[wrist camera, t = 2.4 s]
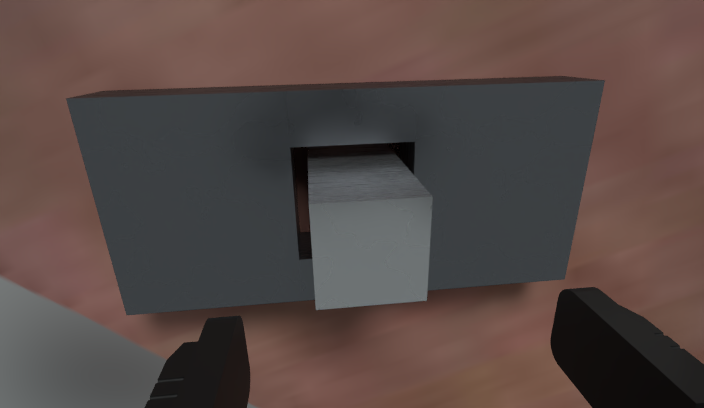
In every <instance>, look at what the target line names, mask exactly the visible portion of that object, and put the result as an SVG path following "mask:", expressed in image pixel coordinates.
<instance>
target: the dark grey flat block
mask: <svg viewBox="0 0 704 408" xmlns="http://www.w3.org/2000/svg"><path fill="white" fill-rule="evenodd" d="M604 82H605V80H595V79H586V78H576V77H567V76H552V77H521V78H490V79H459V80H428V81H397V82H365V83H334V84H303V85H272V86H241V87H210V88H179V89H148V90H117V91H101V92H96V93H91V94H86V95H81V96H76V97H71V98H67V99H66V100H67V103H68V107H69V110H70V114H71V118H72V121H73V125H74V128H75V132H76V135H77V139H78V143H79V146H80V150H81V153H82V157H83V161H84V164H85V168H86V171H87V175H88V179H89V182H90V186H91V189H92V193H93V196H94V200H95V204H96V207H97V211H98V214H99V218H100V222H101V225H102V229H103V232H104V236H105V239H106V243H107V247H108V250H109V254H110V257H111V261H112V265H113V268H114V272H115V275H116V279H117V282H118V286H119V290H120V293H121V297H122V300H123V304H124V308H125V311H126V315H135V314H147V313H160V312H172V311H184V310H196V309H208V308H220V307H233V306H245V305H257V304H269V303H281V302H293V301H306V300H315V290H314V275H313V260H312V245H311V232H302V233H300V225H299V212H298V199H297V187H296V174H295V161H294V148H293V147H312V146H334V145H355V144H376V143H398V142H400V155H399V158H400V160H401V161H402V162H403V163H404V164H405V165H406V167H407V168H408V169H409V170H410V171H411V172H412V173H413V175H414V176H415V177H416V178H417V179H418V180H419V182H420V183H421V184H422V185H423V186H424V187H425V188H426V190H427V191H428V192H429V193H430V194H431V195H432V197H433V200H432V218H431V236H430V254H429V272H428V290H439V289H451V288H464V287H476V286H488V285H500V284H512V283H524V282H537V281H549V280H561V279H565V275H566V270H567V265H568V260H569V255H570V250H571V245H572V240H573V235H574V230H575V225H576V220H577V215H578V210H579V205H580V201H581V196H582V191H583V186H584V181H585V176H586V171H587V166H588V161H589V156H590V151H591V146H592V141H593V136H594V131H595V126H596V121H597V117H598V112H599V107H600V102H601V97H602V92H603V87H604Z"/></svg>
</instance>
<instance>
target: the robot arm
mask: <svg viewBox="0 0 704 408" xmlns="http://www.w3.org/2000/svg"><path fill="white" fill-rule="evenodd" d="M551 349H552V353H553V356H554V358H555V360H556V362H557V364H558V365H559V366H560V368H561V369H562V370H563V371H564V373H565V374H566V375H567V376H568V378H569V379H570V380H571V381H572V383H573V384H574V385H575V386H576V388H577V389H578V390H579V391H580V393H581V394H582V395H583V396H584V398H585V399H586V400H587V401H588V403H589V404H590V405H591V406H592V408H704V364H702V363H701V362H700V361H699V360H697V359H696V358H695V357H694V356H692V355H691V354H690V353H688V352H687V351H686V350H685V349H680V347H679V345H678V344H677V343H676V342H674V341H673V340H672V339H671V338H669V337H668V336H664V335H663V332H662V331H661V330H659V329H658V328H657V327H655V326H654V325H653V324H652V323H650V322H649V321H648V320H647V319H645V318H644V317H642V316H640V315H638V314H636V313H634V312H632V311H630V310H628V309H626V308H624V307H622V306H620V305H618V304H617V303H616V302H614V301H613V300H612V299H611V298H609V297H608V296H607V295H606V294H604V293H603V292H602V291H601V290H599V289H598V288H595V287H588V288H576V289H565V290H563V291H561V293H560V294H559V297H558V302H557V307H556V312H555V318H554V323H553V328H552V334H551ZM249 391H250V366H249V359H248V353H247V346H246V339H245V333H244V326H243V321H242V318H241V316H231V317H219V318H208V319H207V321H206V323H205V325H204V328H203V330H202V333H201V336H200V338H199V341H198V342H187V343H183V344H182V345H181V346H180V347H179V348H178V349H177V350H176V351H175V352H174V353H173V354H172V355H171V356H170V357H169V358H168V359H167V361H166V363H165V365H164V367H163V369H162V372H161V374H160V376H159V378H158V383H156V384H155V387H154V389H153V391H152V393H151V395H150V400H149V401H148V402H147V404H146V406H145V408H247V404H248V398H249Z"/></svg>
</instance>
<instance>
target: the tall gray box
mask: <svg viewBox="0 0 704 408" xmlns="http://www.w3.org/2000/svg"><path fill="white" fill-rule="evenodd" d="M308 192H309V215H310V230H311V245H312V260H313V275H314V290H315V305H316V310H323V309H335V308H346V307H358V306H370V305H382V304H393V303H405V302H417V301H427V290H428V272H429V254H430V236H431V218H432V200H433V197H432V195H431V194H430V193H429V192H428V191H427V190H426V188H425V187H424V186H423V185H422V184H421V183H420V182H419V180H418V179H417V178H416V177H415V176H414V175H413V173H412V172H411V171H410V170H409V169H408V168H407V167H406V165H405V164H404V163H403V162H402V161H401V160H400V158H399V157H398V156H397V155H396V154H395V153H394V152H393V150H392V149H391V148H390V147H389V146H388V145H387V143H376V144H355V145H334V146H312V147H308Z"/></svg>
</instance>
